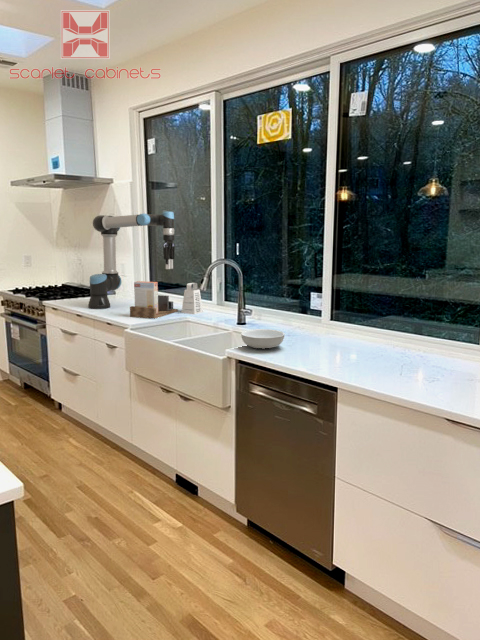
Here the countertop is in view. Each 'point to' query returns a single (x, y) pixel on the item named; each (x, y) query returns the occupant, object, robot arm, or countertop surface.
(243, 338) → the serving bowl
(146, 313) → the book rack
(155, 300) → the cracker box
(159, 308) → the bookend
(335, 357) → the countertop surface
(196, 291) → the grater
